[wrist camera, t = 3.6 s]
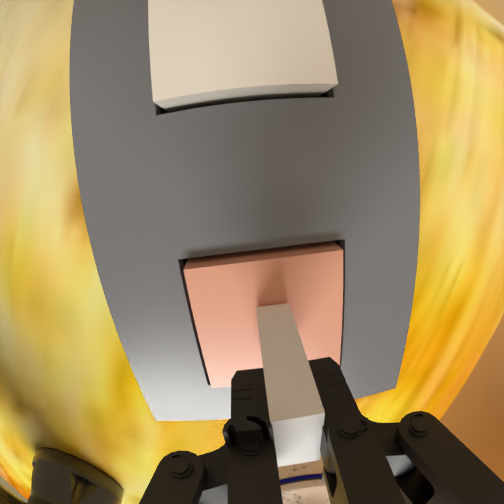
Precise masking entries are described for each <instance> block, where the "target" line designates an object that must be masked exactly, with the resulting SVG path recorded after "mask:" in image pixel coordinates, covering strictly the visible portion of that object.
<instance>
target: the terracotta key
mask: <svg viewBox="0 0 504 504" xmlns="http://www.w3.org/2000/svg"><path fill="white" fill-rule="evenodd" d="M183 270H184V275H185V280H186V285H187V289H188V294H189V299H190V303H191V308H192V312H193V316H194V321H195V325H196V329H197V333H198V338H199V342H200V346H201V350H202V354H203V358H204V361H205V365H206V369H207V373H208V376H209V380H210V384H211V387H212V388H222V387H231V379H232V378H233V376H234V374H235V373H236V371H238V370H247V369H256V368H263V363H262V355H261V347H260V339H259V331H258V322H257V314H256V307H262V306H270V305H278V304H285V303H289V305H290V308H291V311H292V314H293V317H294V320H295V323H296V326H297V329H298V332H299V335H300V338H301V341H302V344H303V347H304V350H305V353H306V356H307V359H308V360H314V359H319V358H325V357H331V358H332V359H333V360H334V361H335V362H337V363H338V364H339V365H340V351H341V334H342V311H343V249H342V248H340V247H339V246H338V245H337V244H336V243H335V242H334V241H325V242H317V243H309V244H300V245H292V246H284V247H276V248H267V249H259V250H251V251H243V252H235V253H226V254H218V255H210V256H202V257H194V258H188V260H187V263H186V265H185V267H184V269H183Z"/></svg>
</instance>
